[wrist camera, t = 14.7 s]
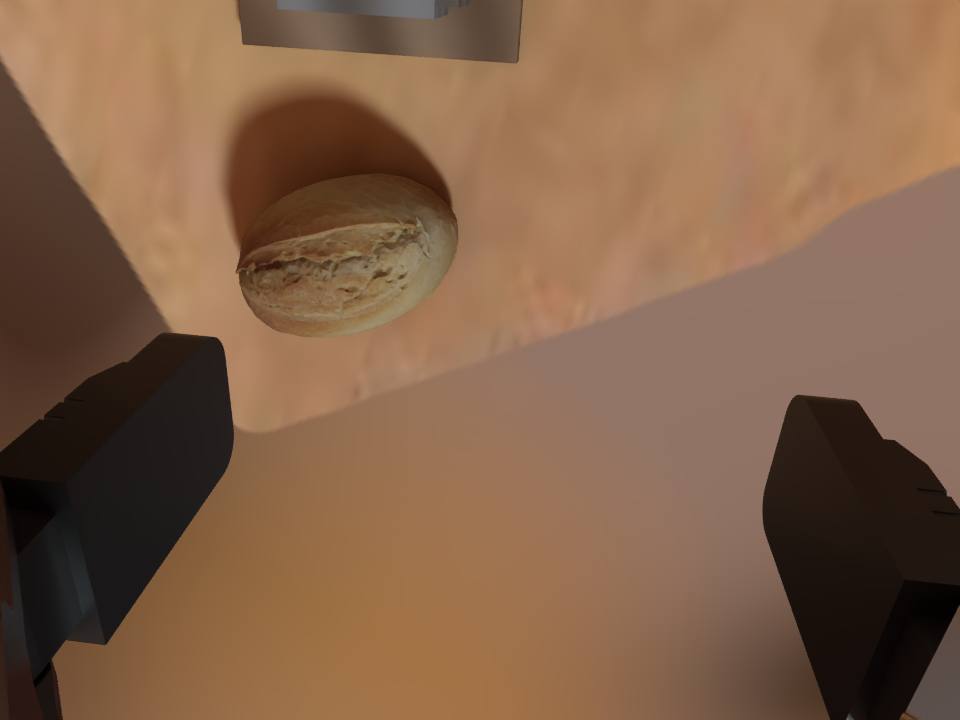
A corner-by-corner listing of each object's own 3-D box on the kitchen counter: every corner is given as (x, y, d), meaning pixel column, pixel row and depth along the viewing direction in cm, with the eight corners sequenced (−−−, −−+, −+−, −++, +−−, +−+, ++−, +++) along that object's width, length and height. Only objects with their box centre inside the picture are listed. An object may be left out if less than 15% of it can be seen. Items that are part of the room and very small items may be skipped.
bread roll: (223, 211, 51) (167, 250, 43) (426, 129, 47) (400, 157, 40) (291, 334, 54) (249, 389, 47) (483, 268, 50) (470, 316, 43)
